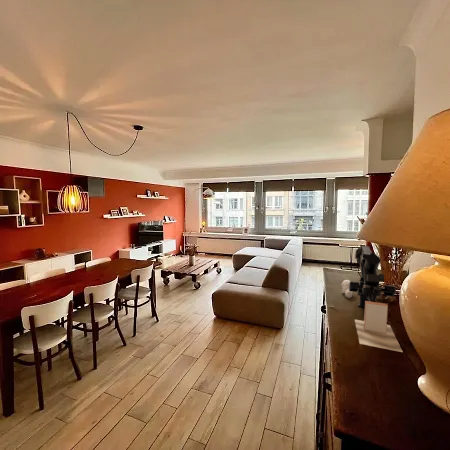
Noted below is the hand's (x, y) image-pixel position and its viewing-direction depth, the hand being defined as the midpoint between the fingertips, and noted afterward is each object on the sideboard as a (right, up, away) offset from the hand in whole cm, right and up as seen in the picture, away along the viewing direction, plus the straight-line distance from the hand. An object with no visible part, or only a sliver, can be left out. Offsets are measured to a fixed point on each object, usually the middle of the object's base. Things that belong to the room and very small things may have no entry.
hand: (372, 305), depth 113 cm
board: (-4, -10, -10) cm, 14 cm away
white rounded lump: (+6, -6, +36) cm, 37 cm away
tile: (-3, -8, -7) cm, 11 cm away
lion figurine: (+23, -6, +32) cm, 40 cm away
